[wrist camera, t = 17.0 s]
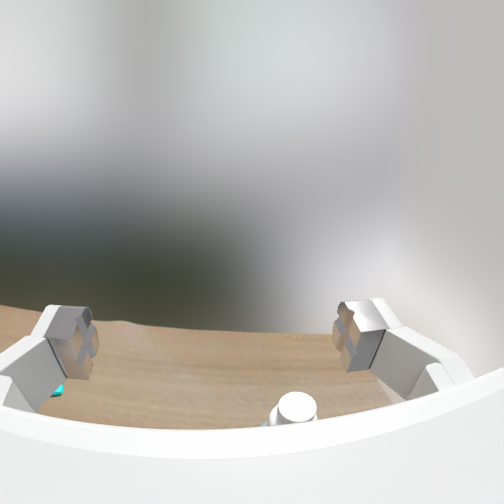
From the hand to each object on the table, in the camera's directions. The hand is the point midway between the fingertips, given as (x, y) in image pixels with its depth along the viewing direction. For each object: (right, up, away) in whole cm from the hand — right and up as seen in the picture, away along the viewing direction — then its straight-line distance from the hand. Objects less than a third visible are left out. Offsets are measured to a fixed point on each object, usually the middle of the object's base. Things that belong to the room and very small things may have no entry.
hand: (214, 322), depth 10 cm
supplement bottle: (+5, -22, +24) cm, 33 cm away
